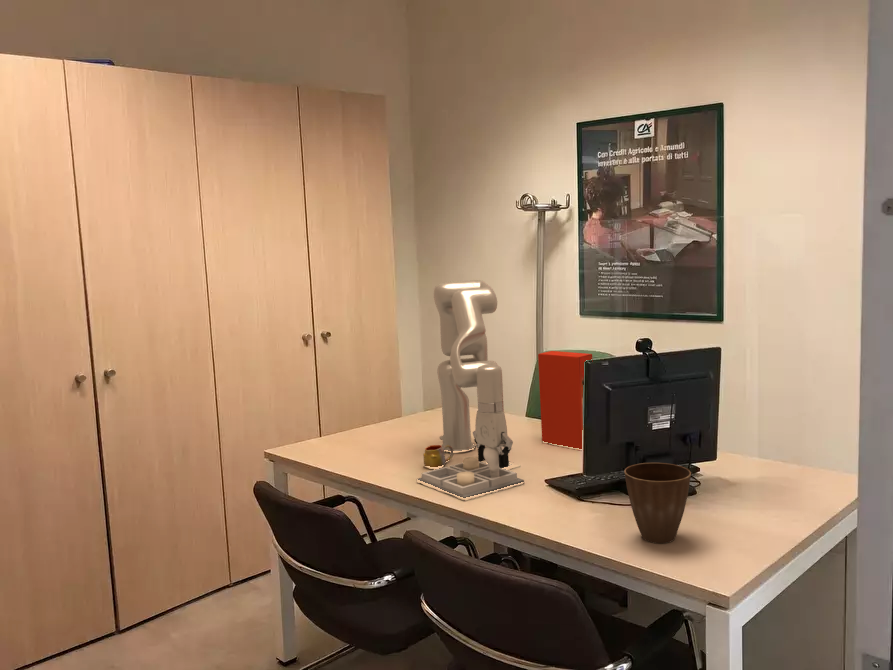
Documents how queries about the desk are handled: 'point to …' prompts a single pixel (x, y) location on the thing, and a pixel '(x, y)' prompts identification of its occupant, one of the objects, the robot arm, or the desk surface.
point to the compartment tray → (469, 478)
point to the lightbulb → (492, 460)
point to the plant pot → (657, 498)
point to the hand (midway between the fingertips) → (493, 463)
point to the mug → (436, 455)
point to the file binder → (562, 397)
